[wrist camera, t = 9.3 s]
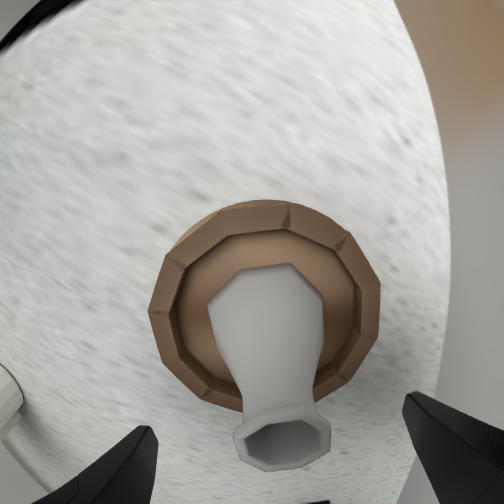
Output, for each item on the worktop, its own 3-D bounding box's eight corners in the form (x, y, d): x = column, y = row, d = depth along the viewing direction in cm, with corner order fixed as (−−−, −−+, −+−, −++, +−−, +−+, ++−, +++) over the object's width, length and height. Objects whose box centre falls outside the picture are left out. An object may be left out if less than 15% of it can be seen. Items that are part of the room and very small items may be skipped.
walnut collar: (364, 378, 19) (374, 396, 17) (184, 400, 20) (178, 420, 17) (366, 189, 16) (382, 190, 14) (139, 217, 17) (124, 221, 14)
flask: (340, 338, 18) (402, 451, 8) (242, 381, 18) (238, 507, 9) (296, 240, 16) (361, 312, 7) (186, 294, 17) (125, 405, 7)
